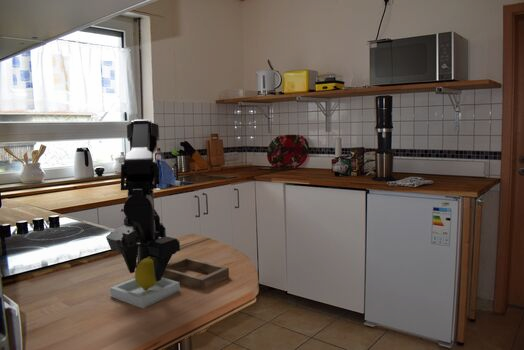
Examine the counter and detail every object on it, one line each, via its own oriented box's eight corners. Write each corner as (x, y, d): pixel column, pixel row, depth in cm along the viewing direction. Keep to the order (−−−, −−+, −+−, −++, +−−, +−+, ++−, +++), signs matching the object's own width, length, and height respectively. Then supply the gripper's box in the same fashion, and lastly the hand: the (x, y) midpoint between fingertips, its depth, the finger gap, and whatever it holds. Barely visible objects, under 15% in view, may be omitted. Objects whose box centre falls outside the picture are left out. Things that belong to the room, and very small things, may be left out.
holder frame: (158, 277, 113) (158, 267, 113) (185, 265, 121) (185, 257, 121) (202, 290, 104) (202, 280, 104) (228, 277, 112) (228, 267, 112)
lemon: (151, 295, 99) (155, 260, 99) (129, 291, 100) (132, 256, 100) (161, 289, 105) (165, 256, 105) (140, 286, 106) (143, 253, 106)
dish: (110, 296, 101) (110, 287, 101) (148, 281, 110) (148, 272, 110) (142, 308, 95) (142, 298, 95) (179, 291, 104) (179, 282, 104)
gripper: (85, 213, 99) (90, 279, 101) (140, 224, 88) (144, 298, 90) (126, 204, 108) (129, 265, 110) (180, 214, 97) (182, 280, 99)
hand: (144, 276), depth 102 cm, fingers open, 9 cm apart
